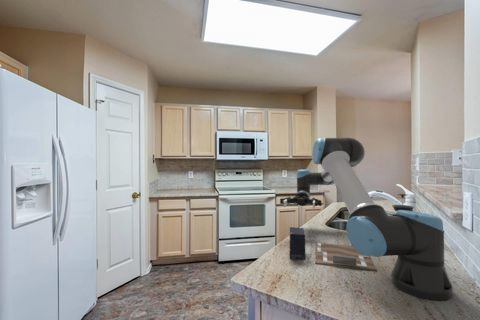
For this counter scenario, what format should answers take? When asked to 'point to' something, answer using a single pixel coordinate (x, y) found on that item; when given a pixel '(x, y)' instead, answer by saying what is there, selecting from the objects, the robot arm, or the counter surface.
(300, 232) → the small box
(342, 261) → the keyhole plate
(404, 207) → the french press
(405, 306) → the counter surface
